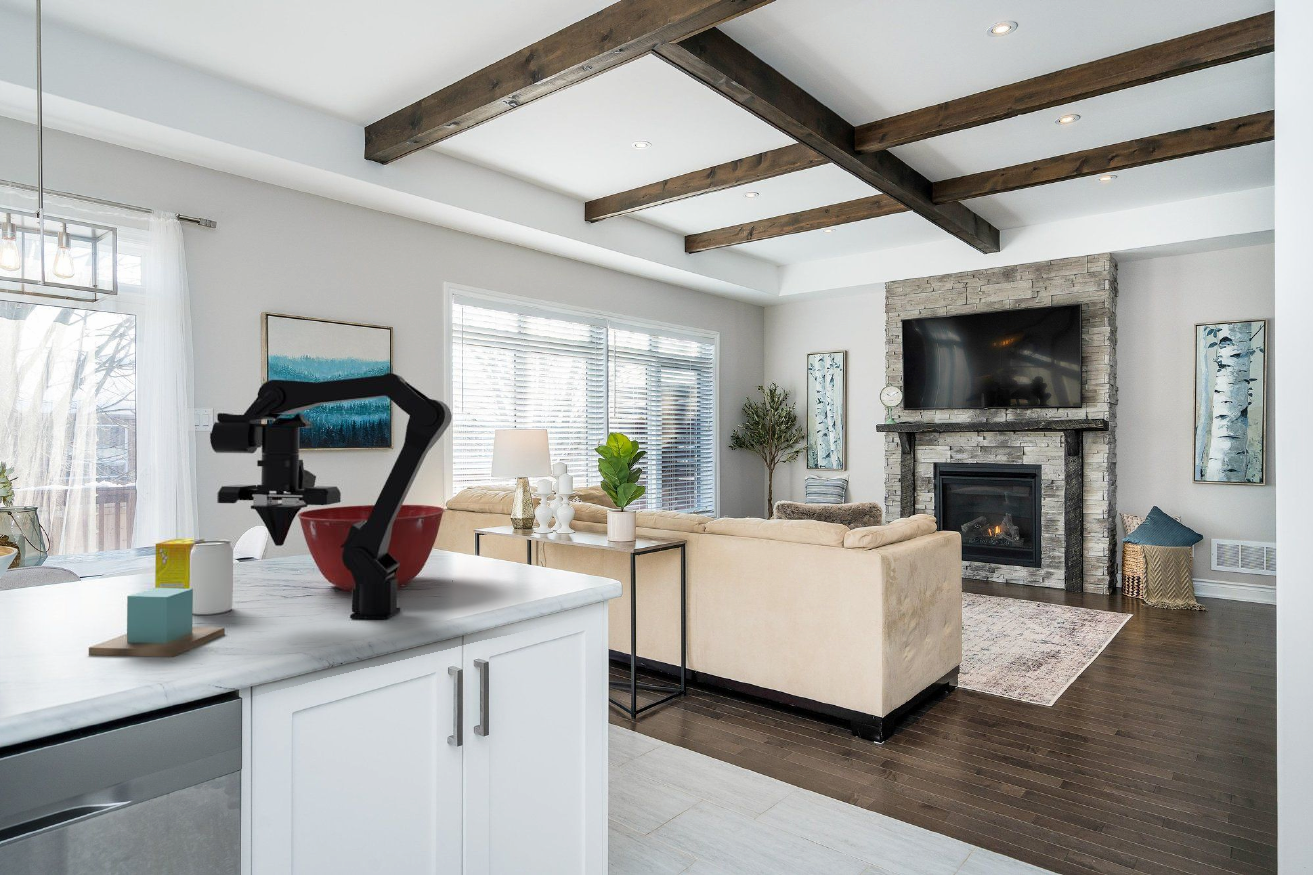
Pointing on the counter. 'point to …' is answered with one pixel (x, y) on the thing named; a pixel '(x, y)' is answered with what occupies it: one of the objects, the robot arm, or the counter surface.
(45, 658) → the counter surface
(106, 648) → the base board
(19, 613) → the counter surface
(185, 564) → the supplement box
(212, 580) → the can
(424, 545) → the mixing bowl
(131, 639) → the teal cube
